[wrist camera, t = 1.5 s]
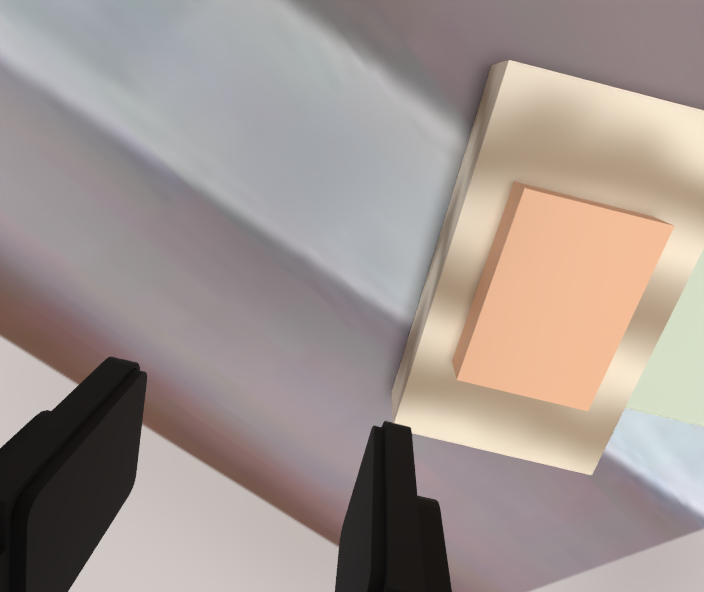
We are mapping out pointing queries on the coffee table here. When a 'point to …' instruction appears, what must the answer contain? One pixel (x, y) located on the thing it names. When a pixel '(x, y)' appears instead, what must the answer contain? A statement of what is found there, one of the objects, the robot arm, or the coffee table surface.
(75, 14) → the coffee table surface
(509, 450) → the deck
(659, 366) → the mat
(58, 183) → the coffee table surface
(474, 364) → the tile
